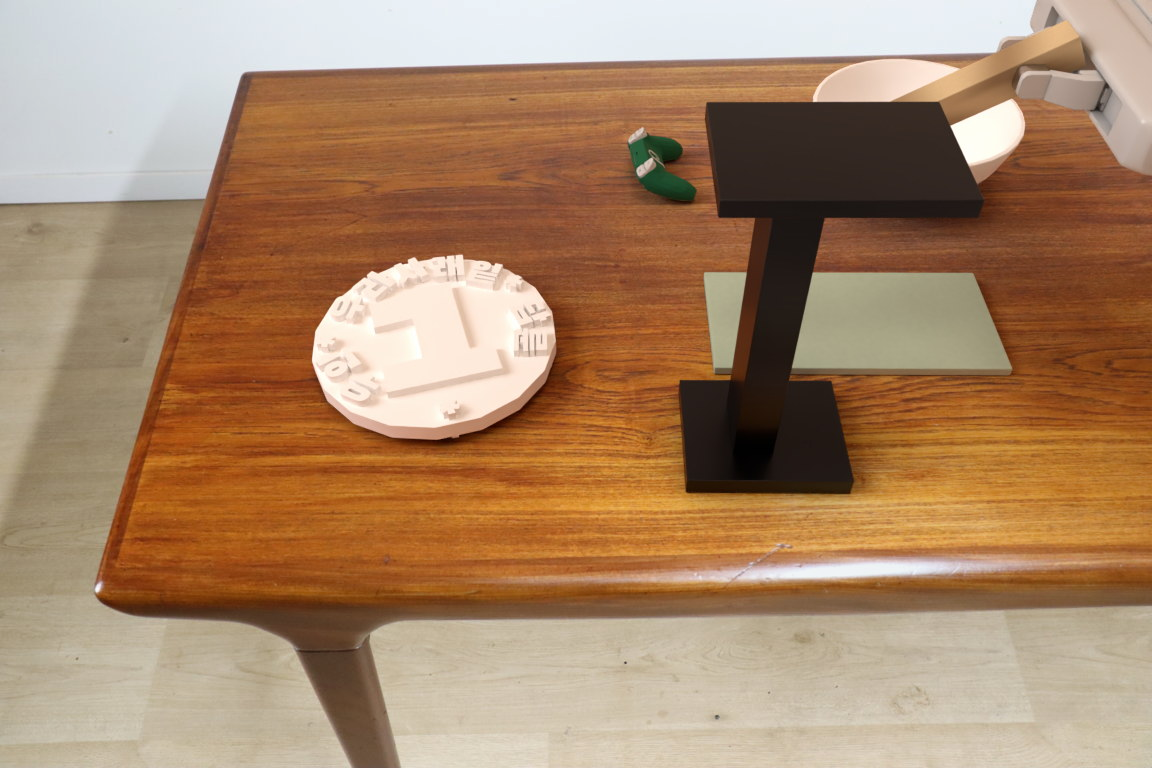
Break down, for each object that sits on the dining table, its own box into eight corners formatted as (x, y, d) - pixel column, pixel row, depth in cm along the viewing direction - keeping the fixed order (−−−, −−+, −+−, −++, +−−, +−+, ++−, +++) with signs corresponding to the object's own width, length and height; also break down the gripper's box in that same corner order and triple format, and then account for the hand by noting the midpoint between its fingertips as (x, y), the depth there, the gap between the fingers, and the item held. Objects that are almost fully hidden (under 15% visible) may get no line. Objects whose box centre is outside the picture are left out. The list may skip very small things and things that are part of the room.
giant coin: (288, 439, 73) (279, 414, 71) (348, 274, 87) (342, 249, 85) (545, 451, 72) (544, 426, 70) (565, 282, 86) (565, 257, 84)
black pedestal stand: (853, 393, 76) (939, 101, 57) (877, 494, 69) (985, 200, 50) (678, 392, 76) (706, 101, 57) (685, 492, 69) (720, 200, 50)
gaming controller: (657, 168, 101) (618, 137, 97) (684, 144, 99) (645, 111, 96) (673, 221, 95) (632, 189, 91) (702, 196, 93) (660, 163, 89)
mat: (970, 279, 85) (973, 272, 85) (1009, 375, 77) (1013, 369, 76) (703, 278, 86) (704, 271, 85) (713, 374, 78) (714, 367, 77)
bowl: (832, 113, 105) (847, 42, 98) (1015, 158, 98) (1042, 85, 92) (771, 208, 93) (784, 134, 87) (974, 266, 86) (1003, 190, 80)
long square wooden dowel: (1074, 48, 64) (1058, -20, 61) (1086, 66, 62) (1071, -4, 59) (757, 191, 73) (728, 138, 70) (761, 209, 71) (731, 156, 68)
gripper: (1174, -46, 68) (980, -45, 69) (1320, 103, 54) (1076, 104, 55) (1137, 37, 73) (956, 38, 73) (1264, 194, 59) (1039, 194, 59)
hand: (1008, 67), depth 64 cm, fingers closed on long square wooden dowel, 2 cm apart
